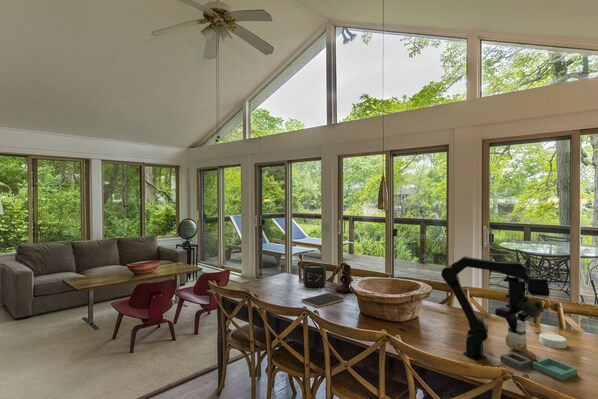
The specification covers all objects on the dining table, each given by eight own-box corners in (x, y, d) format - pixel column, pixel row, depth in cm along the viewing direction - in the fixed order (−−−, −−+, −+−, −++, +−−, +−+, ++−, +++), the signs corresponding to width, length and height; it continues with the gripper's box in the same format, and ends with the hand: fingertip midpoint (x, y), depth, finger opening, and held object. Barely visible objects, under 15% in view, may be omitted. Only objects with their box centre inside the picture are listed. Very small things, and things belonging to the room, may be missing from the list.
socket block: (520, 370, 128) (520, 364, 128) (500, 361, 136) (500, 355, 136) (533, 366, 132) (533, 360, 132) (513, 357, 139) (513, 351, 139)
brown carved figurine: (358, 293, 236) (358, 264, 236) (339, 294, 233) (339, 265, 233) (351, 287, 250) (351, 261, 250) (332, 288, 247) (332, 262, 247)
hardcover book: (344, 301, 218) (344, 298, 218) (318, 308, 204) (318, 305, 204) (327, 296, 231) (327, 292, 231) (301, 302, 216) (301, 299, 216)
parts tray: (561, 381, 121) (561, 374, 121) (532, 368, 130) (532, 362, 130) (577, 375, 125) (577, 368, 125) (548, 363, 134) (548, 357, 134)
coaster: (534, 339, 157) (534, 332, 157) (555, 339, 157) (555, 332, 157) (549, 349, 147) (549, 341, 147) (572, 349, 147) (572, 341, 147)
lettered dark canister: (297, 286, 254) (297, 266, 254) (312, 282, 268) (312, 262, 268) (316, 290, 242) (316, 269, 242) (330, 285, 256) (330, 265, 256)
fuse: (521, 344, 130) (521, 323, 130) (508, 339, 135) (507, 319, 135) (526, 342, 132) (526, 322, 132) (513, 337, 137) (513, 318, 137)
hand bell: (512, 327, 146) (531, 346, 130) (529, 337, 145) (551, 358, 130) (501, 343, 147) (519, 363, 132) (518, 352, 147) (538, 374, 131)
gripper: (522, 301, 122) (522, 344, 122) (552, 295, 130) (552, 335, 130) (494, 294, 133) (494, 333, 132) (523, 288, 140) (523, 325, 140)
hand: (516, 331), depth 134 cm, fingers closed on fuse, 3 cm apart
